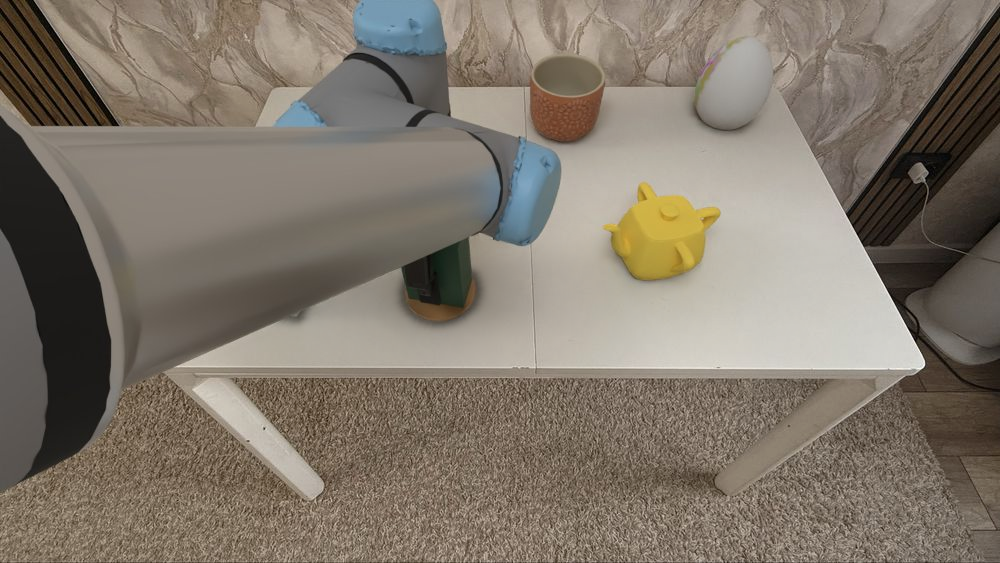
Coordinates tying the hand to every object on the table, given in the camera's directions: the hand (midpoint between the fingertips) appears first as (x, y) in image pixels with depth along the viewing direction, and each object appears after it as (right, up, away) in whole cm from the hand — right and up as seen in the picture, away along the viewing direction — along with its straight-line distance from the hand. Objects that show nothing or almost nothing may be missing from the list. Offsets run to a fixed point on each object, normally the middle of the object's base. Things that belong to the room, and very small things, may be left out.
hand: (438, 277), depth 77 cm
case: (0, -2, +2) cm, 3 cm away
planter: (+20, +27, +24) cm, 41 cm away
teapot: (+31, +3, +6) cm, 32 cm away
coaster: (0, -2, +3) cm, 3 cm away
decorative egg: (+49, +30, +26) cm, 63 cm away
